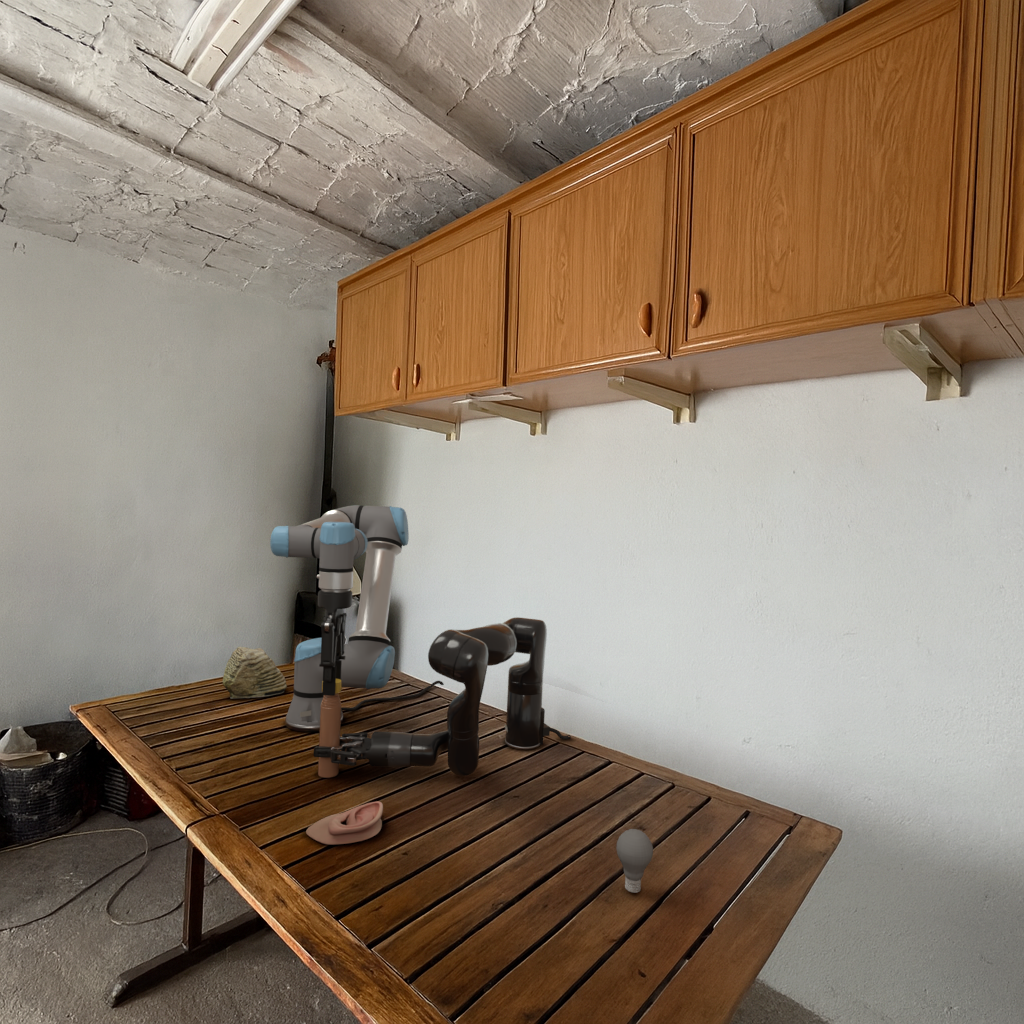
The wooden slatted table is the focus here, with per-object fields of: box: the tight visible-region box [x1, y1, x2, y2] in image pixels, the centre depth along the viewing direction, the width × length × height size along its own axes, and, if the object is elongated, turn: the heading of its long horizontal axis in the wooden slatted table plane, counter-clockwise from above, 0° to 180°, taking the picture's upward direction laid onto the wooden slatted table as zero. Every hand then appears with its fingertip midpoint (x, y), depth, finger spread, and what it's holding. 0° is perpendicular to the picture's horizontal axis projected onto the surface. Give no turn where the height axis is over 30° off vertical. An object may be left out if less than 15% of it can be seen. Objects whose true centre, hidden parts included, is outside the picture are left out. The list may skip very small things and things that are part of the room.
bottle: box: [317, 693, 342, 779], centre depth 145 cm, size 5×5×21 cm
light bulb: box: [615, 828, 654, 894], centre depth 106 cm, size 6×6×10 cm
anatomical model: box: [305, 800, 384, 846], centre depth 121 cm, size 13×4×12 cm
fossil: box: [222, 646, 288, 699], centre depth 198 cm, size 9×18×15 cm, turn 132°
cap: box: [322, 679, 342, 694], centre depth 145 cm, size 4×4×2 cm
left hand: (331, 691), depth 145 cm, fingers closed on cap, 4 cm apart
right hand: (317, 747), depth 145 cm, fingers closed on bottle, 4 cm apart
